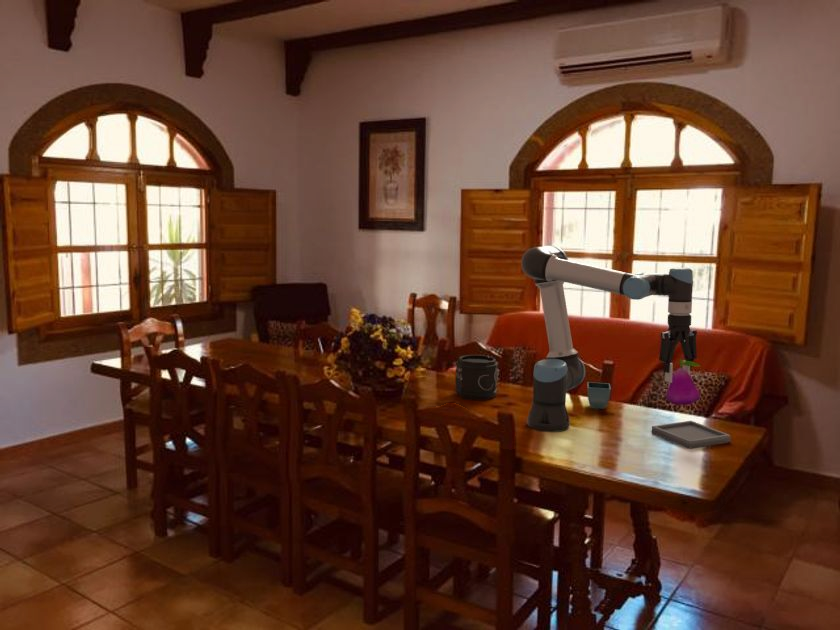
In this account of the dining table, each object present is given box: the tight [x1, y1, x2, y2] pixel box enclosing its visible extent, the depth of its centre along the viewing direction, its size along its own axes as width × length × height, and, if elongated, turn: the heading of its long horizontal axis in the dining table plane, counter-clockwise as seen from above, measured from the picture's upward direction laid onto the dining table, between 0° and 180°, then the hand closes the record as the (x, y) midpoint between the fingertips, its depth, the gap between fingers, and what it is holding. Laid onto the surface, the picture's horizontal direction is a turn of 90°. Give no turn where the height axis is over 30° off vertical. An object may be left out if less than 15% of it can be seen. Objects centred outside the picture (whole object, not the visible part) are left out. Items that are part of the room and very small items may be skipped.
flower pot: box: [586, 381, 612, 410], centre depth 285 cm, size 9×9×9 cm
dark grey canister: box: [454, 354, 499, 401], centre depth 301 cm, size 18×18×16 cm
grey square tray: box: [651, 420, 731, 450], centre depth 249 cm, size 18×18×2 cm
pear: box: [665, 358, 701, 406], centre depth 246 cm, size 11×11×15 cm
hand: (677, 380), depth 246 cm, fingers open, 7 cm apart
